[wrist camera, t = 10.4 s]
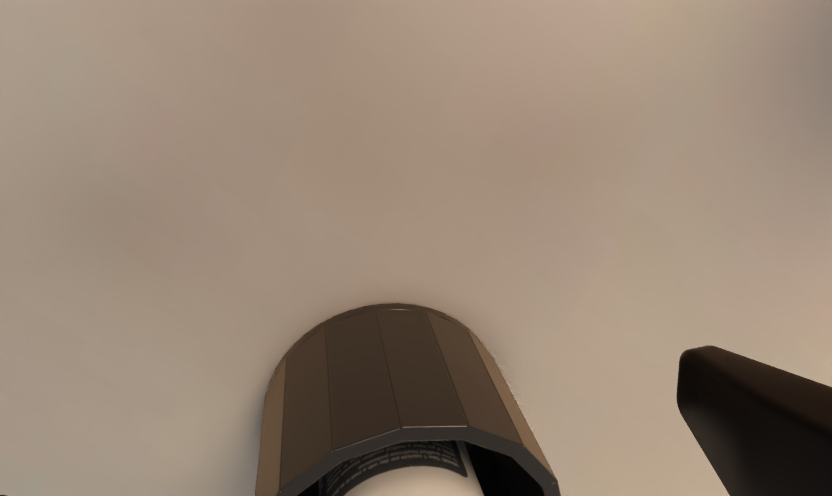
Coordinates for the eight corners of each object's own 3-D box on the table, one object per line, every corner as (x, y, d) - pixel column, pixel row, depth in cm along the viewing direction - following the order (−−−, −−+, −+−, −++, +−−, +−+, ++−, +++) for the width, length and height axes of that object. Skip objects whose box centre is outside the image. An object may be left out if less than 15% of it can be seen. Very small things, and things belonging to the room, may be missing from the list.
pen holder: (369, 527, 26) (389, 697, 20) (212, 406, 22) (175, 569, 16) (538, 404, 25) (617, 542, 19) (403, 255, 21) (445, 365, 15)
